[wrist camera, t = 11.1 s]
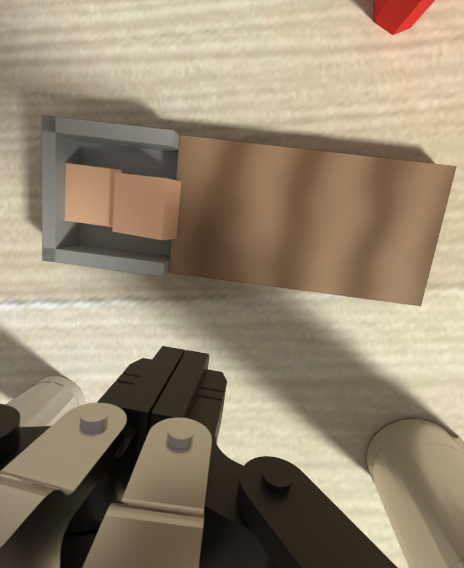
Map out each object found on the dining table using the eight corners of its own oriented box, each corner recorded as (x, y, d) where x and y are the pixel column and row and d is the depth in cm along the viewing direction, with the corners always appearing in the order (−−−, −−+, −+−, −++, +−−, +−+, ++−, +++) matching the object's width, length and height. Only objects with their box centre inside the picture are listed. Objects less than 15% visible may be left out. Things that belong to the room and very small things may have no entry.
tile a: (181, 181, 30) (166, 178, 28) (176, 238, 31) (161, 240, 29) (133, 175, 32) (115, 172, 29) (130, 230, 33) (112, 231, 31)
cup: (14, 374, 39) (-91, 447, 27) (80, 363, 38) (1, 434, 26) (37, 436, 40) (-53, 531, 29) (101, 427, 39) (35, 521, 28)
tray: (185, 140, 32) (173, 130, 28) (174, 267, 35) (162, 276, 30) (70, 127, 32) (41, 115, 28) (68, 253, 35) (42, 260, 31)
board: (440, 169, 31) (456, 166, 28) (409, 299, 33) (420, 306, 31) (185, 140, 32) (179, 134, 29) (175, 267, 35) (169, 272, 32)
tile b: (131, 172, 32) (121, 170, 30) (128, 226, 34) (118, 227, 31) (80, 166, 33) (65, 163, 30) (78, 219, 34) (64, 220, 31)
